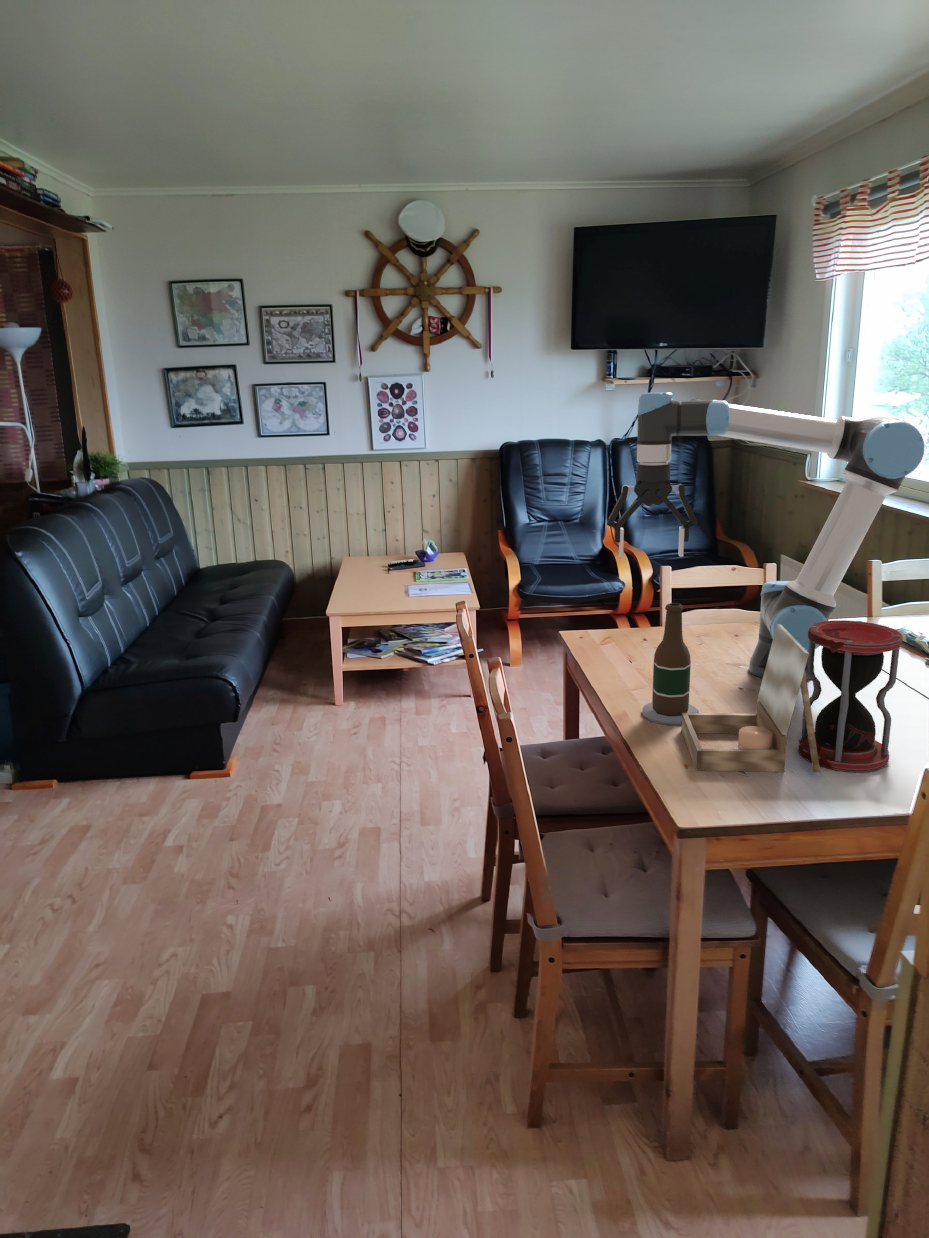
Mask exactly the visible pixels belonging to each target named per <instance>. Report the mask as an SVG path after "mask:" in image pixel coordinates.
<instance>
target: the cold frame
mask: <svg viewBox="0 0 929 1238" xmlns="http://www.w3.org/2000/svg"><path fill="white" fill-rule="evenodd" d="M808 656H809V653H808V652H807V651H806V650H805V649H804V648H803V647H802V646H801V645H800V644H799V643H798V641H797V640H796V639H795V638H794V637H793V636H792V635H791V634H790V633H789V632H788V631H787V630H786V629H785V628H784V627H783V626H782V625H780V624H777V626H776V630H775V634H774V638H773V642H772V645H771V649H770V653H769V657H768V661H767V664H766V668H765V672H764V676H763V678H762V679H761V685H760V688H759V691H758V697H757V700H756V709H755V710H756V711H755V713H738V712H737V713H735V712H734V713H730V712H729V713H727V712H725V713H724V712H723V713H720V712H719V713H718V712H717V713H716V712H714V713H712V712H711V713H710V712H699V713H682V725H680V726H681V727H680V728H681V729H680V731H681V734H682V737H683V739H684V741H685V744H686V747H687V749H688V752H689V755H690V757H691V760H692V761H693V762H692V763H693V765H694V768H695V771H709V772H710V771H714V772H715V771H718V772H719V771H721V772H725V771H726V772H728V771H729V772H773V773H775V772H777V773H778V772H779V773H780V772H782V773H784V772H785V769H786V768H785V767H786V765H785V764H786V754H787V745H788V741H787V740H788V736H787V735H788V731H789V728H790V725H791V720H792V717H793V714H794V710H795V706H796V702H797V699H798V696H799V692H801V697H802V703H803V708H804V713H805V720H806V726H807V733H808V740H809V746H810V753H811V760H812V762H811V767H812V771H813V772H815V773H820V772H821V768H820V767H821V766H819V760H818V753H817V746H816V739H815V733H814V732H815V725H814V719H813V713H812V705H810V699H809V698H810V694H809V693H810V691H809V685H808V680H807V678H806V672H805V667H806V663H807V660H808ZM747 726H757V727H762V728H766V729H768V730H770V731H771V732H772V747H771V749H738V748H702V746H701V745H702V744H701V743H700V741H699V738H698V735H697V734H739V730H740V729H741V728H743V727H747Z"/></svg>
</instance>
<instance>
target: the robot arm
mask: <svg viewBox="0 0 929 1238" xmlns="http://www.w3.org/2000/svg"><path fill="white" fill-rule="evenodd" d="M678 436H682V437H683V436H684V437H685V436H698V437H699V436H700V437H701V436H710V437H714V436H718V437H726V438H731V439H735V440H736V439H737V440H742V441H749V442H755V443H756V442H757V443H762V444H768V445H775V446H781V447H785V448H786V447H787V448H793V449H799V450H805V451H811V452H818V453H823V454H824V453H825V454H826V455H827V456H828V457H829V458H830V459H834V460H839V461H843V462H847V464H846V466H845V467H844V469H843V472H844V476H845V478H846V482H845V484H844V486H843V488H842V490H841V492H840V494H838V495H839V496H838V497H837V499H836V502H835V503H834V505H833V508H832V509H831V511H830V513H829V515H828V517H827V519H826V521H825V523H824V524H823V527H822V529H821V531H820V533H819V535H818V537H817V538H816V540H815V542H814V544H813V546H812V548H811V550H810V552H809V554H808V556H807V558H806V560H805V562H804V564H803V566H802V568H801V569H800V571H799V573H798V576H797V578H796V579H793V580H792V581H791V580H772V581H767V582H765V583H763V585H762V587H761V592H760V596H761V598H760V599H761V600H760V614H759V615H760V616H759V627H758V639H757V643H756V645H755V648H754V650H753V653H752V655H751V656H750V659H749V665H748V666H749V668H748V670H749V672H750V673H751V674H752V675H754V676H755V677H758V678H761V679H763V676H764V672H765V668H766V664H767V661H768V657H769V653H770V649H771V645H772V642H773V638H774V634H775V630H776V626H777V624H780V625H782V626H783V627H784V628H785V629H786V630H787V631H788V632H789V633H790V634H791V635H792V636H793V637H794V638H795V639H796V640H797V641H798V643H799V644H800V645H801V646H802V647H803V648H804V649H805V650H806V651H807V652H808V650H809V638H808V628H809V627H810V626H811V625H813V624H815V623H819V622H824V621H830V618H831V616H832V614H833V612H834V610H835V609H836V606H837V603H836V599H835V596H834V595H835V593H836V591H837V589H838V588H839V586H840V584H841V582H842V580H843V578H844V576H845V574H846V573H847V571H848V569H849V567H850V565H851V563H852V561H853V560H854V558H855V555H856V554H857V552H858V550H859V548H860V546H861V545H862V542H863V541H864V538H865V537H866V535H867V533H868V531H869V529H870V527H872V526H871V525H872V524H873V522H874V520H875V518H876V517H877V514H878V512H879V511H880V508H881V507H882V505H883V503H884V500H885V499H886V497H887V496H889V495H891V494H893V493H896V492H898V491H899V488H900V487H901V485H902V484H903V482H904V480H905V478H906V477H907V476H908V475H910V474H912V473H913V471H914V470H916V469H917V468H918V466H920V464H921V462H922V460H923V458H924V453H925V440H924V438H923V436H922V434H921V432H920V431H919V430H918V428H916V427H915V426H914V425H912V424H911V423H910V422H907V421H905V420H903V419H899V418H889V417H853V416H844V415H840V416H839V417H837V418H826V417H820V416H813V415H805V414H799V413H792V412H786V411H780V410H779V411H778V410H773V409H766V408H759V407H754V406H746V405H739V404H734V403H729V402H728V401H727V400H721V399H709V400H708V399H707V400H706V399H703V398H694V399H691V400H685V401H683V400H682V401H680V400H675V398H674V394H673V393H672V392H668V391H666V392H665V391H664V392H662V391H661V392H660V391H659V392H644V393H642V394H641V395H640V396H638V408H637V436H636V437H637V441H636V442H637V443H636V444H637V445H636V461H637V462H638V464H637V465H636V474H635V475H636V477H635V478H636V479H635V485H634V486H633V485H632V486H631V485H626V484H623V485H622V486H621V492H620V496H619V497H618V499H617V501H616V503H615V505H614V507H613V509H612V511H611V512H610V515H609V516H608V518H607V520H606V524H607V526H608V527H611V528H613V529H614V541H615V543H618V556H619V558H624V540H625V538H624V537H625V536H624V535H625V529H624V527H622V526H624V525H625V523H626V522H627V521H628V520H629V518H630V517H631V516H632V515H633V514H634V513H635V512H636V511H637V510H638V508H640V507H641V506H642V505H646V506H651V505H655V506H660V505H661V504H664V505H666V507H667V508H668V509H669V511H670V512H671V514H673V516H675V518H676V519H677V521H679V523H680V524H681V525H682V526H678V527H679V528H678V551H677V553H678V556H679V558H683V557H684V547H685V543H687V542H689V540H690V529H691V527H693V526H697V525H698V524H699V521H698V520H697V517H696V515H695V512H694V511H693V508H692V507H691V504H690V502H689V501H688V500H689V499H688V498H687V496H686V491H685V490H686V489H685V485H683V484H682V483H678V484H675V485H674V484H673V485H672V484H671V472H672V471H671V470H672V469H671V468H672V467H671V464H670V463H669V462H671V461H672V460H671V459H672V442H673V441H672V438H673V437H678ZM633 492H634V493H635V495H636V498H635V499H634V500H633V502H632V504H630V505H629V507H628V508H627V509H626V510H625V511H624V513H622V515H621V516H620V517H619V518H618V519H617V517H618V515H619V514H620V512H621V509H622V508H623V506H624V504H625V502H626V499H627V498H628V496H631V494H632V493H633ZM672 492H674V493H675V495H678V497H679V498H678V499H679V500H680V502H681V505H682V506H683V509H684V510H685V513H686V515H687V517H688V520H686V518H685V517H684V516H683V515H682V513H681V512H680V511H679V510H678V509H677V508H676V506H675V505H674V504H673V503H672V501H670V499H669V496H670V495H671V493H672ZM616 519H617V520H616ZM818 648H820V645H818V644H816V643H815V650H816V649H818ZM807 661H808V660H807ZM813 671H814V672H815V666H814V667H813ZM805 672H806V678H807V681H808V680H811V679H810V677H809V676H808V672H807V663H806V667H805Z"/></svg>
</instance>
